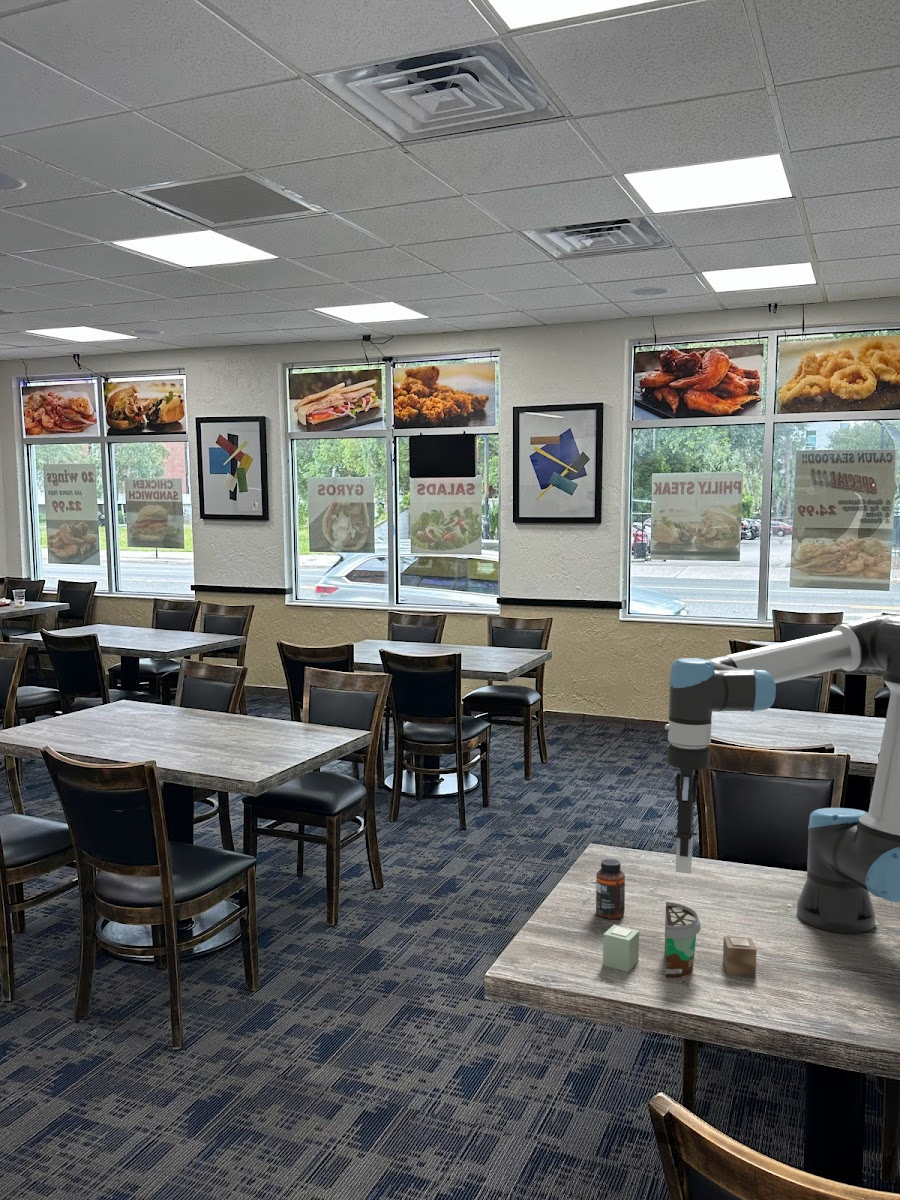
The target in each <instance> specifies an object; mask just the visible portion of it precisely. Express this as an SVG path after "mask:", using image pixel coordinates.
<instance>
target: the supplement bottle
mask: <svg viewBox="0 0 900 1200" xmlns="http://www.w3.org/2000/svg"><path fill="white" fill-rule="evenodd" d="M595 882H596V883H595V885H596V886H595V889H596V892H595V913H596V914H597V916H599V917H600V918H603V919H608V920H615V919H616V920H617V919H620V918H622V917H623V916H624V915H625V907H626V903H625V902H626V901H625V899H626V898H625V897H626V895H625V893H626V892H625V891H626V890H625V889H626V877H625V873H624V872H623V870H621V862H620V860H618V859H616V858H615V859H614V858H605V859H602V860H601V862H600V869H598V870H597V872H596V881H595Z"/></svg>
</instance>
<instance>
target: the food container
mask: <svg viewBox="0 0 900 1200" xmlns="http://www.w3.org/2000/svg"><path fill="white" fill-rule="evenodd" d="M664 917H665V919H664V920H665V924H664V927H665V928H664V968H665V970H664V971H665V978H666V979H667V978H670V979H675V978H678V979H679V978H683V977H687V976H689V975H690V974H691V973H693V971H694V969H693V968H694V958H695V950H696V943H697V942H696V941H697V935H698V934H699V933H700V931H701V930H702V927H701V920H700V917H699V915H698V914H697V912H696V911H695V910H694V909H692V908H690V907H688V906H687V905H684V904H681V903H677V902H672V901H671V902H670V901H666V902H665V916H664Z"/></svg>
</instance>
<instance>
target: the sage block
mask: <svg viewBox="0 0 900 1200" xmlns="http://www.w3.org/2000/svg"><path fill="white" fill-rule="evenodd" d="M602 941H603V943H602V944H603V948H602V966H605V967H608V968H612V969H616V970H619V971H622V972H626V973H629V972H630V971H631V970H632V969H633V968H634V967H635V966H636V965H637V964H638V963H639V958H640V957H639V954H640V953H639V952H640V950H639V949H640V930H637V929H633V928H629V927H625V926H621V925H619V924H618V925H617V924H613V925H612V926H610V928H609V929H608V930H606V931H605V932H604V933H603V940H602Z"/></svg>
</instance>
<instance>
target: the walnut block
mask: <svg viewBox="0 0 900 1200" xmlns="http://www.w3.org/2000/svg"><path fill="white" fill-rule="evenodd" d="M722 943H723V946H722V947H723V948H722V963H723V967H724V969H725V972H726V974H727V975H738V976H751V977H753V976H754V977H756V974H757V973H756V970H757V948H756V946H755V943H754V941H753V938H752V937H742V936H728V935H724V936H723V942H722Z"/></svg>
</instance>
